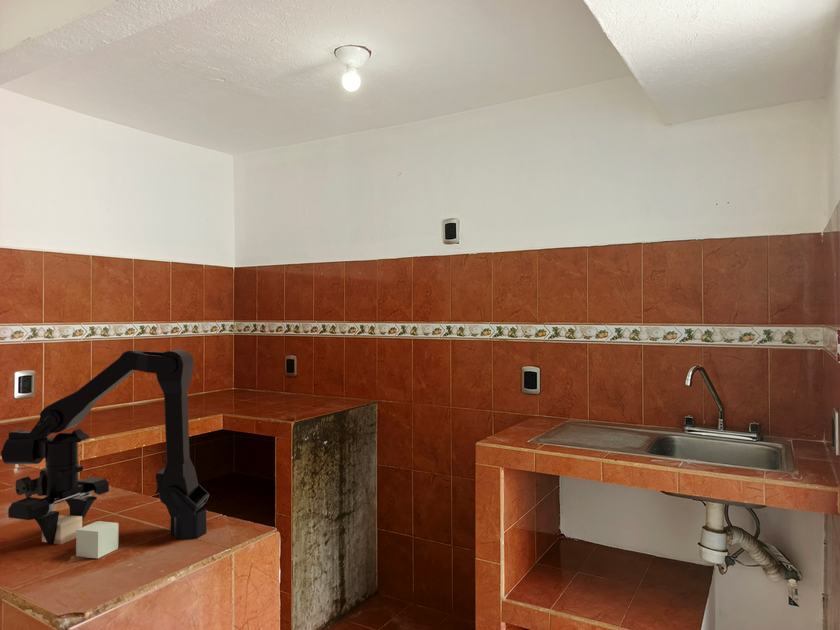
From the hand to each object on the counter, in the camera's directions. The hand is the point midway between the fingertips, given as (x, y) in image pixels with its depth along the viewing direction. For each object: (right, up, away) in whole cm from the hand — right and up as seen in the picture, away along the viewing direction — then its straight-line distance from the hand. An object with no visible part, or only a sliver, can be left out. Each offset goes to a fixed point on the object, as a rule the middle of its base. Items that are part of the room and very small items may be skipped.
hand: (62, 538), depth 116 cm
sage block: (+11, 0, -7) cm, 14 cm away
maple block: (0, -1, 0) cm, 1 cm away
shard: (+11, -2, -6) cm, 12 cm away
